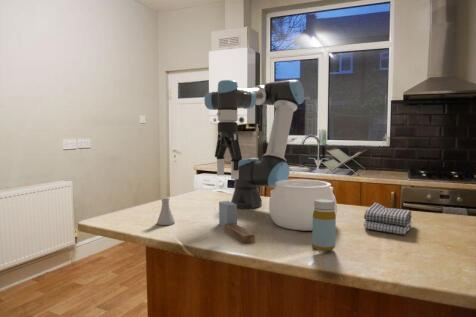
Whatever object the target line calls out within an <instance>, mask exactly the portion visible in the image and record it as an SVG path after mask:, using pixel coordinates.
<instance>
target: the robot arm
mask: <svg viewBox="0 0 476 317" xmlns="http://www.w3.org/2000/svg"><path fill="white" fill-rule="evenodd" d="M203 101H204V106H205V107H206V109H208V110H210V111H211V110H214V111H217V112H216V115H217V121H218V123H217V132H218V133H221V134H218V135H217V142H216V145H215V146H216V147H215V152H214V158H216V176H225V159H226V158H225V154H226V151H227V148H228V152H229V154H230V157H231V159H230V180H231V181H232V180H234V191H233V194H232V198H231V201H230V202H232V203H235V204H237V209H257V208H261V207H262V206H263V201H262V197H261V194H260V191H259V187H268V188H273V189H274V188H275V187H276V186H277V185H276V184H275V182H277V181H281V180H289V178H290V167H289V166H290V165H289V164H288V163H287V159H286V158H285V155H286V149H287V145H288V144H287V143H288V139H289V135H290V132H291V131H290V130H291V124H292V120H293V116H294V112H296V111H297V110H298V106H299V105H301V104H303V103H304V101H305V90H304V87H303V84H302V82H301V81H299V80H298V79H289V80H280V81H271V82H266V83H264V84H263V83H262V84H260V85H254V86H253V87H250V88H239V87H238V82H237V81H236V80H234V79H233V80H232V79H224V80H220V81H218V83H217V91H211V92H208V93H206V94H205V96H204V100H203ZM255 105H256V106H260V105H261V106H262V105H263V106H265V105H266V106H274V107H275V111H274V117H273V121H272V125H271V130H270V134H269V139H268V143H267V147H266V151H265V152H266V153H264V154H263V155H261V160H260V159H259V157H258V158H257V157H254V158H253V157H252V158H243V157H242V152H241V147H240V143H239V134H235V133H237V132H238V109H244V110H247V109H252V108H253V107H254V106H255Z"/></svg>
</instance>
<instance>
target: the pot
mask: <svg viewBox="0 0 476 317" xmlns="http://www.w3.org/2000/svg"><path fill="white" fill-rule="evenodd" d="M275 184H276V185H277V186H276V187H274V188H273V189H271V190H270V197H269V201H268V202H269V203H268V211H269V214H270V215H269V216H270V217H271V220H272V221H273V222H274V224H275V225H277V226H279V227H281V228H284V229H287V230H291V231H292V230H294V231H304V232H305V231H306V232H307V231H309V232H310V231H312V226H313V212H314V200H315V199H332V200H334V201H335V207H334V212H335V215H336V216H337V213H338V204H337V199H336V196H335V194H334V192H333V191H334V187H333V186H332V184H331V183H330V182H328V181H324V180H316V179H298V178H297V179H288V180H281V181H277V182H275Z"/></svg>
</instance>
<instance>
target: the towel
mask: <svg viewBox="0 0 476 317" xmlns="http://www.w3.org/2000/svg"><path fill="white" fill-rule="evenodd" d="M363 216H364V217H363V219H364V220H365V221H364V223H363V226H364V228H365V229H368V230H372V231H377V232H378V231H379V232H384V233H390V234H396V235H397V234H399V235H407V232H408V231H409V230H410V226H411V224H412V210H409V209H400V208H392V207H390V208H389V207H387V206H384V205H382V204H381V203H378V202H374V203H373V204H372V205H371V206H369V207H368V209H366V210H365V214H364V215H363Z"/></svg>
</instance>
